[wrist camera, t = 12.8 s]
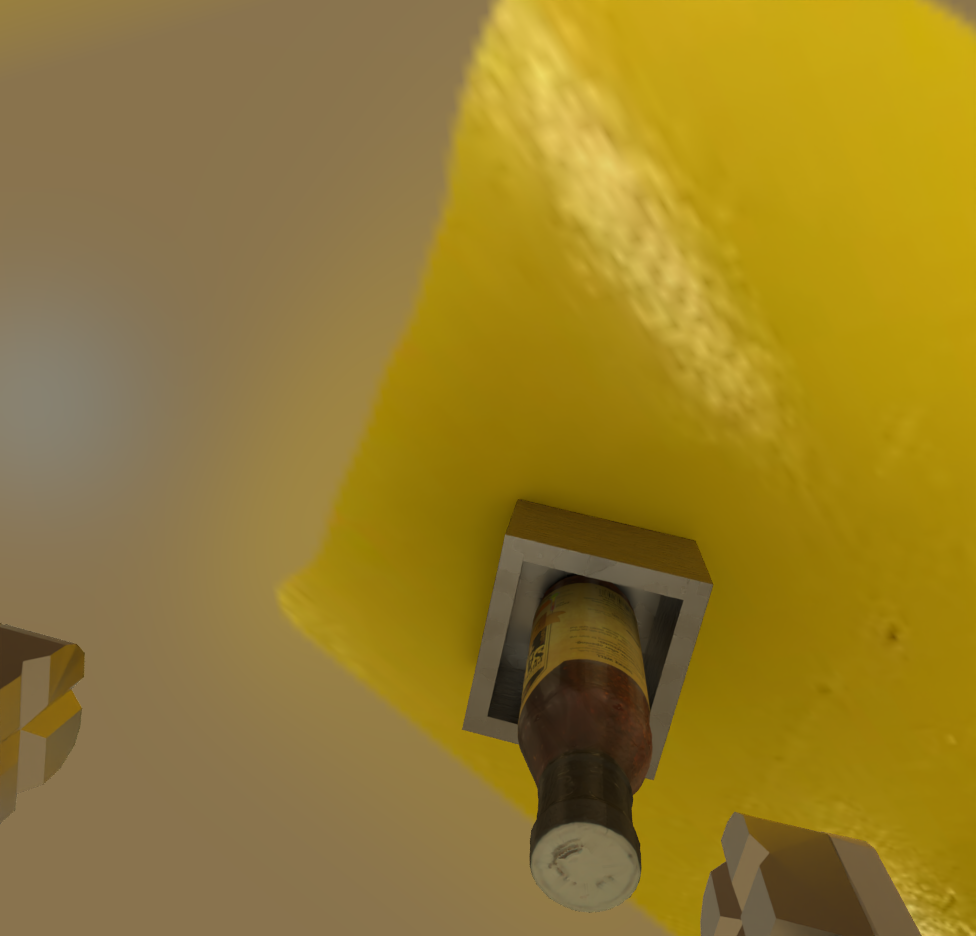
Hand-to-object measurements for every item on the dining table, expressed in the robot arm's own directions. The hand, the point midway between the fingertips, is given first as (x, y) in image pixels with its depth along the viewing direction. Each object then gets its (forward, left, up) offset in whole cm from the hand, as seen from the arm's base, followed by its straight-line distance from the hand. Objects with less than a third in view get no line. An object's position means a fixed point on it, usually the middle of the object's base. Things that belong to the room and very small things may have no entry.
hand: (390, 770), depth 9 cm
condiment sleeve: (-5, +13, -36) cm, 38 cm away
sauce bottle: (-5, +13, -35) cm, 38 cm away
